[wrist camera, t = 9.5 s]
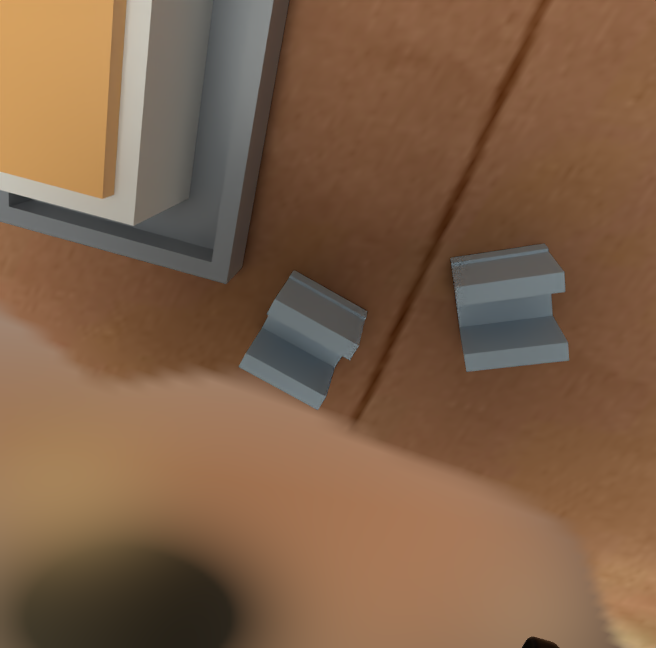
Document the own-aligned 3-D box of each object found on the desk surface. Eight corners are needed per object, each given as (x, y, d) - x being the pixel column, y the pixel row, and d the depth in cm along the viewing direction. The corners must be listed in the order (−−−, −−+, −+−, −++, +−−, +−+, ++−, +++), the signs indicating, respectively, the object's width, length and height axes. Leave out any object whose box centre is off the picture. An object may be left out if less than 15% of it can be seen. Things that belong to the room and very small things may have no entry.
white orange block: (218, -45, 16) (147, -90, 12) (188, 198, 19) (122, 231, 15) (84, -78, 16) (-35, -135, 12) (75, 167, 19) (-23, 192, 15)
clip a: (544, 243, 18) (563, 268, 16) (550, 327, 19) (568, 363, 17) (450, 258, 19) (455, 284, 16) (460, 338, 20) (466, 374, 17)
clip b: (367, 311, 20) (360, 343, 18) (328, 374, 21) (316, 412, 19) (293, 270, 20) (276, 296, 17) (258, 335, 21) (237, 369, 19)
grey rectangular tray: (308, -109, 15) (295, -132, 14) (241, 267, 20) (226, 284, 18) (27, -178, 16) (-18, -208, 14) (26, 208, 20) (-8, 219, 19)
